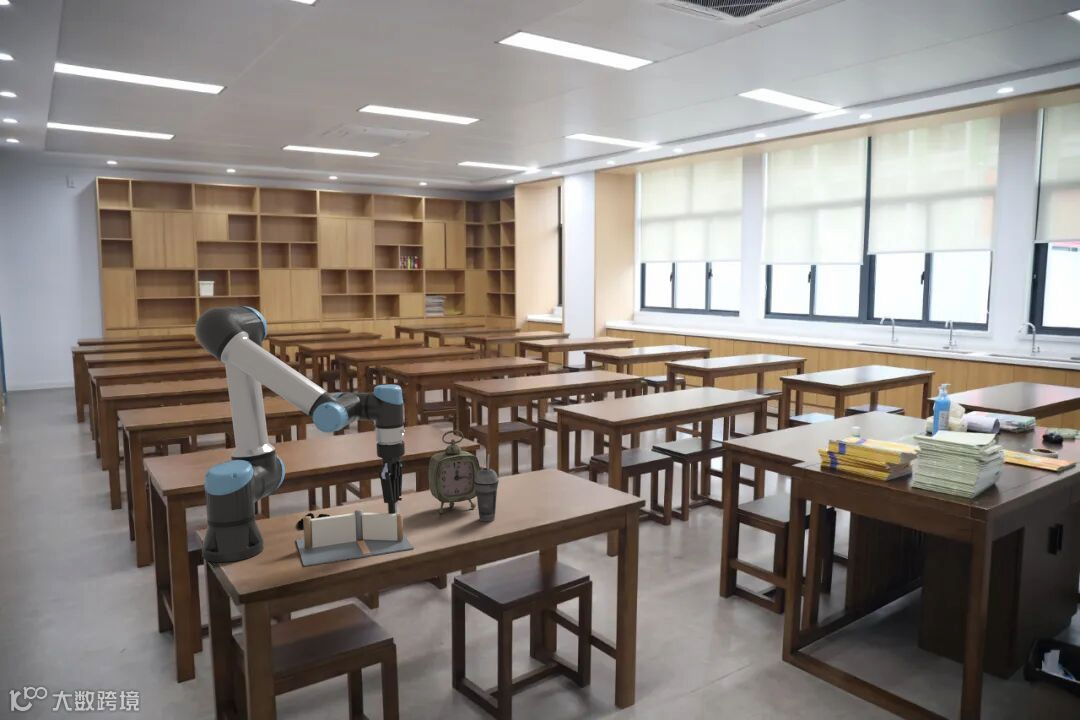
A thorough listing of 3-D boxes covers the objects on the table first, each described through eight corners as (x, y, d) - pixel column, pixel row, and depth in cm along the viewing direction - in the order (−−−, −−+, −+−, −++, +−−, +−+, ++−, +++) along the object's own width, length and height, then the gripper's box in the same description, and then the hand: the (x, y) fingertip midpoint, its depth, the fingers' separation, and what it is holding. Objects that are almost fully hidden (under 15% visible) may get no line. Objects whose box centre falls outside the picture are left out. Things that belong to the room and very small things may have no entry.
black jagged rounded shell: (334, 530, 211) (333, 513, 210) (298, 535, 207) (297, 518, 207) (329, 517, 222) (328, 502, 222) (295, 522, 218) (294, 506, 218)
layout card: (303, 566, 183) (303, 564, 183) (296, 540, 201) (296, 539, 201) (413, 549, 194) (413, 547, 194) (396, 526, 212) (396, 524, 212)
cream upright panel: (362, 539, 199) (361, 514, 198) (365, 537, 201) (364, 512, 200) (402, 540, 198) (401, 515, 197) (404, 538, 200) (403, 513, 199)
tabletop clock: (436, 516, 220) (434, 435, 218) (427, 508, 228) (425, 430, 226) (481, 509, 227) (479, 430, 224) (470, 501, 235) (468, 425, 232)
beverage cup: (488, 513, 222) (487, 449, 220) (504, 519, 217) (503, 453, 215) (470, 519, 217) (468, 453, 215) (485, 525, 212) (484, 458, 210)
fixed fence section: (305, 550, 194) (303, 519, 193) (304, 547, 196) (302, 516, 195) (363, 541, 200) (362, 511, 199) (362, 539, 202) (361, 509, 201)
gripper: (395, 447, 192) (398, 533, 195) (411, 436, 204) (414, 517, 207) (368, 446, 193) (372, 532, 196) (386, 435, 205) (389, 516, 208)
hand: (394, 524), depth 201 cm, fingers closed
